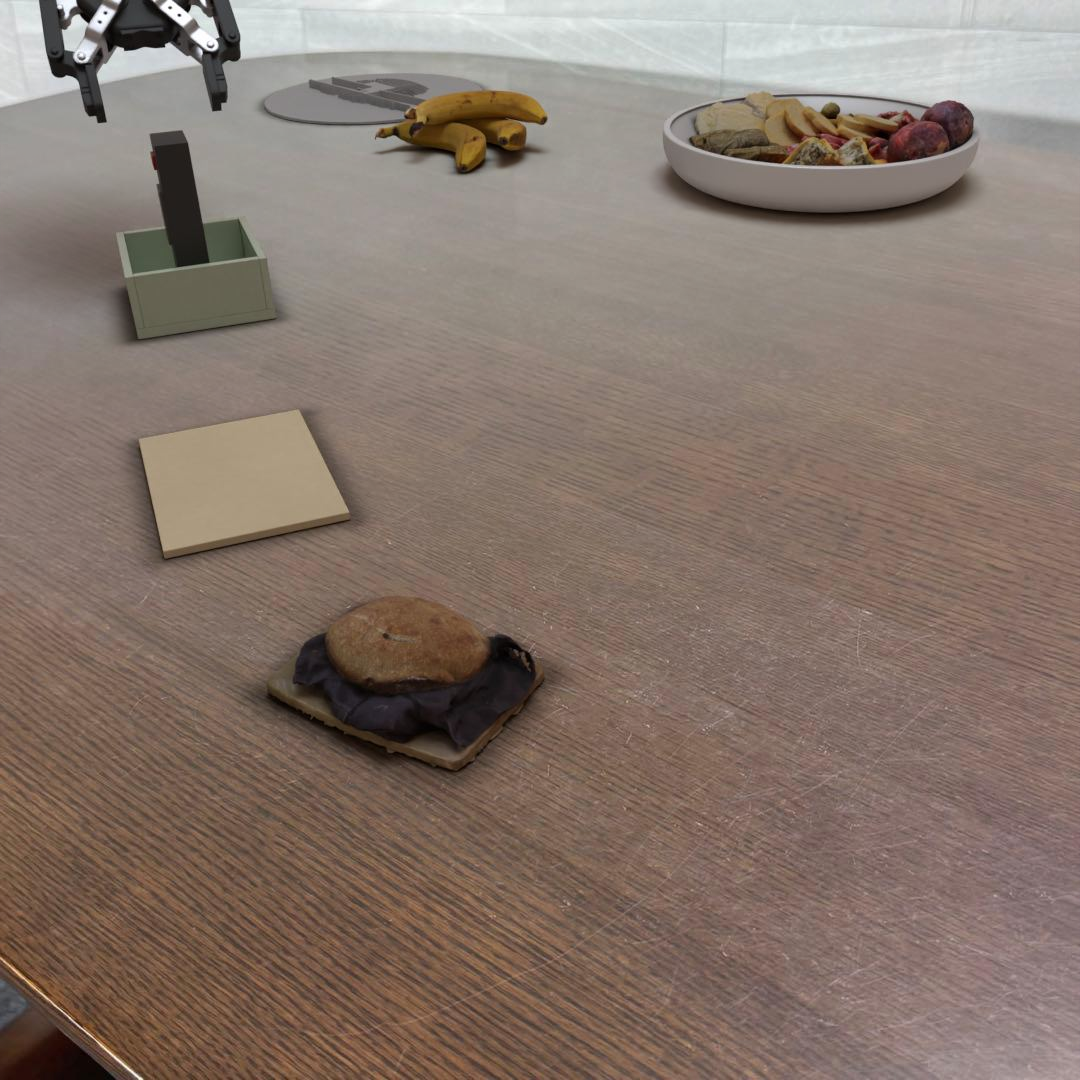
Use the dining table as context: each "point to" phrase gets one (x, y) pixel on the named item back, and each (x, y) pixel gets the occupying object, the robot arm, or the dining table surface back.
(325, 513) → the mat
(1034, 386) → the dining table surface
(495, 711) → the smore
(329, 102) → the plate
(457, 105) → the banana
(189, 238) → the bar
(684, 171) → the bowl
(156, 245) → the green open box
